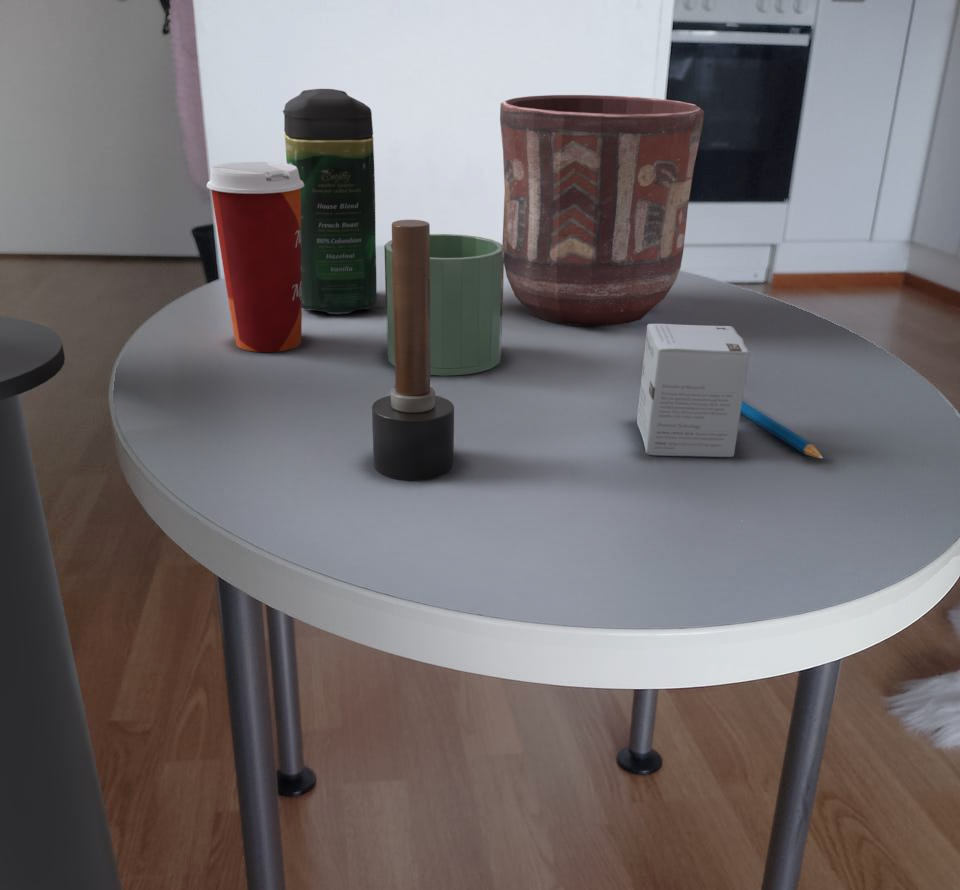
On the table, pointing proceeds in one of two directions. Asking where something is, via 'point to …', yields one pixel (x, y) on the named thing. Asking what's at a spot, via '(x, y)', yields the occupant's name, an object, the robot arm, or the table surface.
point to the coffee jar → (334, 198)
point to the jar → (459, 303)
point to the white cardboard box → (691, 390)
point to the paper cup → (260, 251)
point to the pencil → (779, 430)
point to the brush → (412, 372)
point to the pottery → (595, 203)
